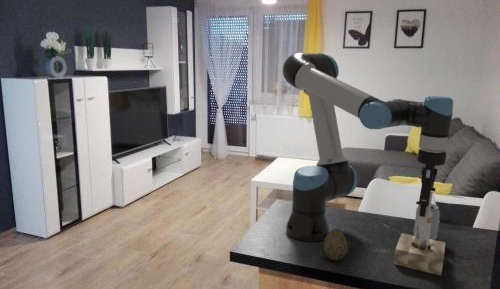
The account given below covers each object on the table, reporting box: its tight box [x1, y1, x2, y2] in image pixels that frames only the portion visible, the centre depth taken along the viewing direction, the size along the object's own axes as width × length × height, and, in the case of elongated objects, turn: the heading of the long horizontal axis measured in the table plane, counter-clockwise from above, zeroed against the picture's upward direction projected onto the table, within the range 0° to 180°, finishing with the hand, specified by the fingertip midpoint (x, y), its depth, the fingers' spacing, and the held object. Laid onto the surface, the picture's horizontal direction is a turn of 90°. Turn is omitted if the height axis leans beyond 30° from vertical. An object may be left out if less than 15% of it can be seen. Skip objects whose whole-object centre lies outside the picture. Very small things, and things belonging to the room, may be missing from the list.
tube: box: [414, 211, 433, 250], centre depth 119 cm, size 4×4×16 cm
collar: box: [393, 232, 446, 277], centre depth 120 cm, size 13×13×5 cm
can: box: [413, 203, 441, 240], centre depth 136 cm, size 8×8×12 cm
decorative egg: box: [323, 228, 348, 262], centre depth 119 cm, size 7×7×10 cm
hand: (423, 218), depth 118 cm, fingers open, 13 cm apart
